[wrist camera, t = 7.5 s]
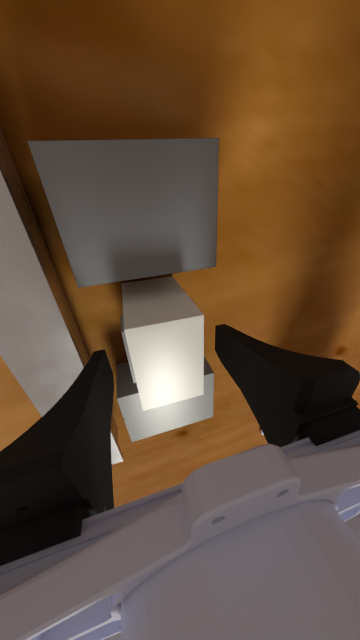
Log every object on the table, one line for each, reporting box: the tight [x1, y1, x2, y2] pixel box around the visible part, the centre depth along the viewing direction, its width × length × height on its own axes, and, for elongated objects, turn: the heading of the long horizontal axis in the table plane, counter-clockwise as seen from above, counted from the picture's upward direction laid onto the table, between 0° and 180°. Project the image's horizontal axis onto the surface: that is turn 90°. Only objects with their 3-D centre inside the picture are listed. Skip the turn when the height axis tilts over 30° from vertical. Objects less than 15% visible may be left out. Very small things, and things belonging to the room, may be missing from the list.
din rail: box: [0, 128, 123, 464], centre depth 14 cm, size 4×28×4 cm, turn 4°
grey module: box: [121, 276, 204, 411], centre depth 14 cm, size 4×6×7 cm
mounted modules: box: [27, 138, 219, 442], centre depth 15 cm, size 8×21×4 cm, turn 4°
